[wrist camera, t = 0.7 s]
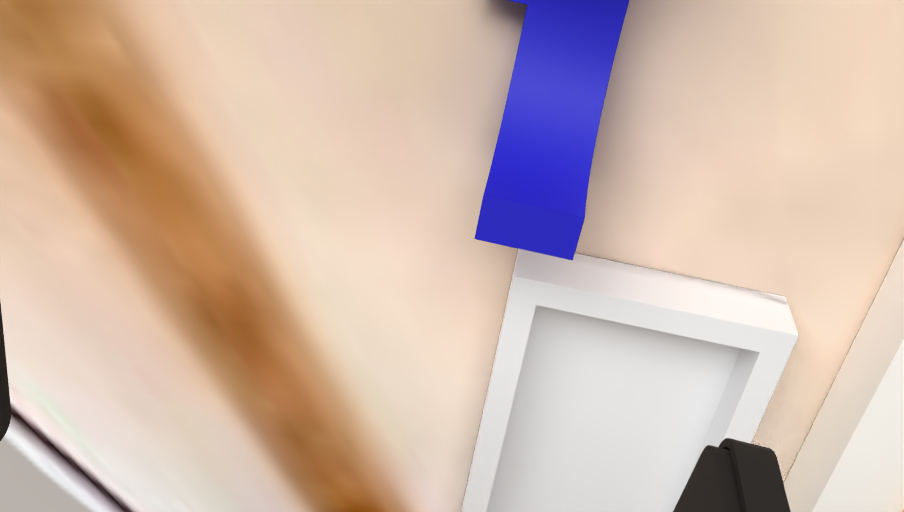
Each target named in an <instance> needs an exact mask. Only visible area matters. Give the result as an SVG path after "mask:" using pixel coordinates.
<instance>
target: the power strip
mask: <svg viewBox="0 0 904 512" xmlns="http://www.w3.org/2000/svg"><path fill="white" fill-rule="evenodd" d="M784 488H785V492H786V496H787V499H788V503H789V507H790V511H791V512H904V240H903V242H902V244H901V246H900V248H899V250H898V252H897V254H896V256H895V258H894V260H893V262H892V264H891V266H890V269H889V271H888V273H887V275H886V277H885V279H884V281H883V283H882V285H881V287H880V289H879V291H878V293H877V295H876V297H875V299H874V301H873V303H872V305H871V307H870V309H869V311H868V313H867V315H866V317H865V319H864V321H863V323H862V325H861V327H860V329H859V332H858V334H857V336H856V338H855V340H854V342H853V344H852V346H851V348H850V350H849V352H848V354H847V356H846V358H845V360H844V362H843V364H842V366H841V368H840V370H839V372H838V374H837V376H836V378H835V380H834V382H833V384H832V386H831V388H830V390H829V392H828V395H827V397H826V399H825V401H824V403H823V405H822V407H821V409H820V411H819V413H818V415H817V417H816V419H815V421H814V423H813V425H812V427H811V429H810V431H809V433H808V435H807V437H806V439H805V441H804V443H803V445H802V447H801V449H800V451H799V453H798V455H797V457H796V460H795V462H794V464H793V466H792V468H791V470H790V472H789V474H788V476H787V478H786V480H785V482H784Z"/></svg>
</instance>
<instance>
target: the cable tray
mask: <svg viewBox="0 0 904 512" xmlns="http://www.w3.org/2000/svg"><path fill="white" fill-rule="evenodd" d="M798 336H799V335H798V332H797V329H796V326H795V323H794V320H793V317H792V314H791V311H790V308H789V305H788V302H787V299H786V297H785V296H780V295H775V294H770V293H766V292H761V291H756V290H751V289H746V288H741V287H737V286H732V285H727V284H722V283H717V282H712V281H708V280H703V279H698V278H693V277H688V276H683V275H679V274H674V273H669V272H664V271H659V270H654V269H650V268H645V267H640V266H635V265H630V264H625V263H621V262H616V261H611V260H606V259H601V258H596V257H592V256H587V255H582V254H577V253H575V254H574V258H573V260H568V259H563V258H559V257H554V256H550V255H545V254H541V253H536V252H532V251H527V250H523V249H518V252H517V257H516V261H515V266H514V270H513V275H512V280H511V284H510V289H509V293H508V298H507V303H506V307H505V312H504V316H503V321H502V325H501V330H500V335H499V339H498V344H497V348H496V353H495V358H494V362H493V367H492V371H491V376H490V381H489V385H488V390H487V394H486V399H485V403H484V408H483V413H482V417H481V422H480V426H479V431H478V436H477V440H476V445H475V449H474V454H473V459H472V463H471V468H470V472H469V477H468V482H467V486H466V491H465V495H464V500H463V504H462V509H461V512H673V511H674V509H675V506H676V504H677V502H678V500H679V498H680V496H681V494H682V492H683V490H684V488H685V486H686V484H687V482H688V480H689V478H690V476H691V474H692V472H693V470H694V467H695V465H696V463H697V461H698V459H699V457H700V455H701V453H702V451H703V450H704V448H705V447H706V446H707V445H712V446H715V447H719V445H720V443H721V442H722V441H723V440H724V439H725V438H731V439H735V440H739V441H742V442H746V443H751V441H752V439H753V437H754V434H755V432H756V430H757V428H758V426H759V423H760V421H761V419H762V417H763V414H764V412H765V410H766V408H767V405H768V403H769V401H770V399H771V397H772V394H773V392H774V390H775V388H776V385H777V383H778V381H779V379H780V376H781V374H782V372H783V370H784V367H785V365H786V363H787V361H788V359H789V356H790V354H791V352H792V350H793V347H794V345H795V343H796V341H797V338H798Z"/></svg>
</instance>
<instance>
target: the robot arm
mask: <svg viewBox="0 0 904 512" xmlns="http://www.w3.org/2000/svg"><path fill="white" fill-rule="evenodd" d="M10 419H11V407H10V396H9V386H8V376H7V365H6V355H5V345H4V335H3V324H2V314H1V304H0V441H1V440H2V438H3V437H4V435H5V433H6V431H7V429H8V426H9V424H10ZM673 512H791V511H790V507H789V503H788V499H787V496H786V492H785V488H784V484H783V480H782V476H781V472H780V469H779V465H778V461H777V457H776V455H775V453H774V451H773V450H771V449H770V448H766V447H762V446H758V445H754V444H750V443H746V442H742V441H739V440H735V439H731V438H725V439H724V440H723V441H722V442H721V443H720V445H719V447H715V446H712V445H707V446H706V447H705V448H704V450H703V451H702V453H701V455H700V457H699V459H698V461H697V463H696V465H695V467H694V470H693V472H692V474H691V476H690V478H689V480H688V482H687V484H686V486H685V488H684V490H683V492H682V494H681V496H680V498H679V500H678V502H677V504H676V506H675V509H674V511H673Z"/></svg>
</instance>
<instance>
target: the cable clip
mask: <svg viewBox="0 0 904 512" xmlns="http://www.w3.org/2000/svg"><path fill="white" fill-rule="evenodd" d="M508 1H513V2H518V3H523V4H527V9H526V13H525V18H524V23H523V28H522V32H521V37H520V42H519V47H518V51H517V56H516V60H515V65H514V70H513V74H512V79H511V83H510V88H509V92H508V97H507V101H506V105H505V110H504V114H503V119H502V123H501V127H500V132H499V136H498V140H497V144H496V148H495V153H494V157H493V161H492V165H491V169H490V173H489V177H488V181H487V184H486V188H485V192H484V196H483V201H482V205H481V210H480V215H479V220H478V225H477V230H476V235H475V239H477V240H482V241H486V242H491V243H495V244H500V245H504V246H509V247H514V248H518V249H523V250H527V251H532V252H536V253H541V254H545V255H550V256H554V257H559V258H563V259H568V260H573V258H574V254H575V250H576V247H577V243H578V240H579V236H580V232H581V229H582V225H583V222H584V218H585V207H586V197H587V189H588V182H589V176H590V169H591V163H592V158H593V152H594V147H595V142H596V136H597V131H598V126H599V122H600V117H601V112H602V108H603V103H604V99H605V94H606V90H607V85H608V81H609V77H610V73H611V68H612V64H613V60H614V56H615V52H616V48H617V44H618V41H619V37H620V33H621V29H622V25H623V22H624V18H625V14H626V11H627V7H628V4H629V0H508Z"/></svg>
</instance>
